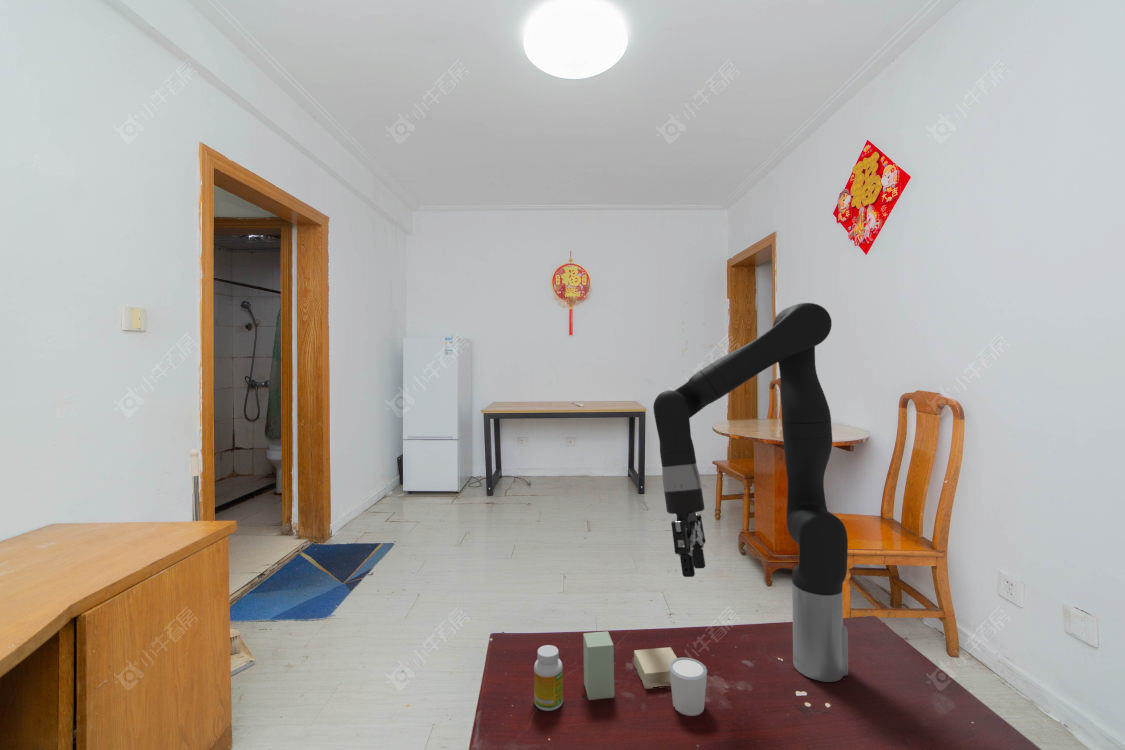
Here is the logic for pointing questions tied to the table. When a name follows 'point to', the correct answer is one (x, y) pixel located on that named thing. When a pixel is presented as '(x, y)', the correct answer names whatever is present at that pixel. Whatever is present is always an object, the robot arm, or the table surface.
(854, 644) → the table surface
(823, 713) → the table surface
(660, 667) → the beech block
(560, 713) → the table surface
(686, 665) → the white cup
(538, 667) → the supplement bottle
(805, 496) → the robot arm
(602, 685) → the sage brick
